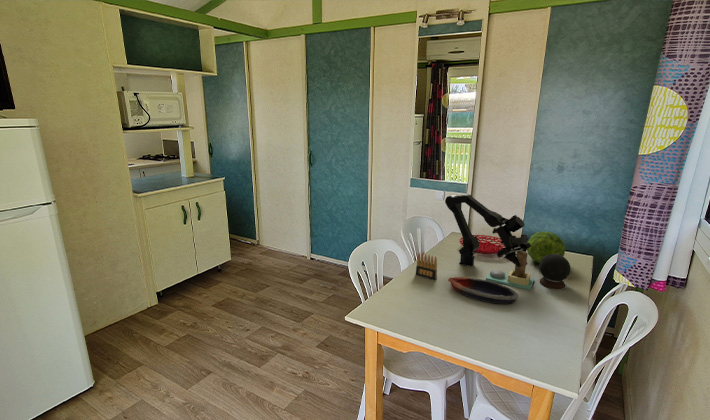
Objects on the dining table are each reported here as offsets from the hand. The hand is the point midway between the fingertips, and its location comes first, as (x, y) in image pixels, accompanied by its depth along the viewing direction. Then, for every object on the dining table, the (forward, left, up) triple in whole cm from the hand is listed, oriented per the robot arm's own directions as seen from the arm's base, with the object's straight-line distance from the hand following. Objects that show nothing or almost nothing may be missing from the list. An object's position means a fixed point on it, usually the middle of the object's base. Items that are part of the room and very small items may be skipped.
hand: (523, 265), depth 178 cm
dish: (-13, -22, -10) cm, 27 cm away
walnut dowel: (-1, +1, -7) cm, 7 cm away
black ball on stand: (+13, +8, -9) cm, 18 cm away
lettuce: (+6, +36, -9) cm, 37 cm away
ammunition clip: (-41, -18, -9) cm, 46 cm away
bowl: (-26, +36, -9) cm, 45 cm away
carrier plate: (-5, +1, -9) cm, 11 cm away
